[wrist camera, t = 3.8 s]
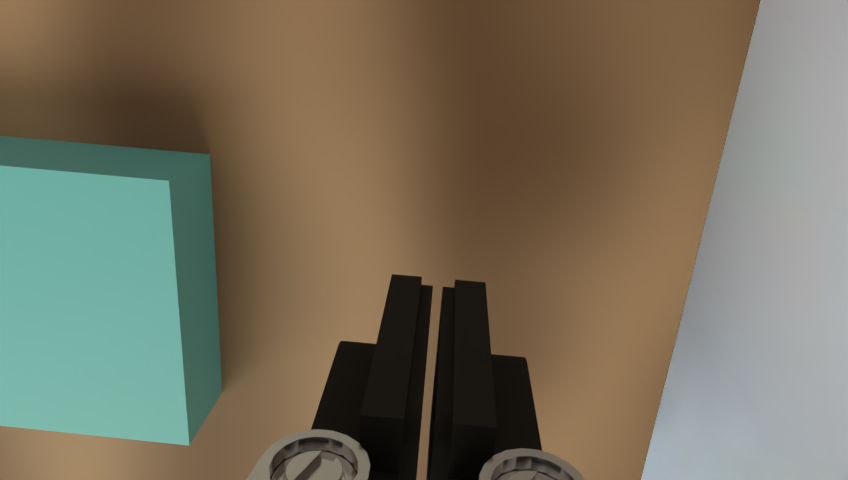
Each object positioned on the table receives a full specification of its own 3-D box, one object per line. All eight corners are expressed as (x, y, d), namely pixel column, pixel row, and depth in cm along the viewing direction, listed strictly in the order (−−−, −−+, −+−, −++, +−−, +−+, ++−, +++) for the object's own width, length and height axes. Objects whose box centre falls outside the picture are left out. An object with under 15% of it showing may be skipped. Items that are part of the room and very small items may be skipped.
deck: (692, -11, 15) (762, -9, 12) (593, 456, 21) (620, 559, 17) (-186, -78, 16) (-380, -98, 13) (-69, 387, 21) (-183, 471, 18)
